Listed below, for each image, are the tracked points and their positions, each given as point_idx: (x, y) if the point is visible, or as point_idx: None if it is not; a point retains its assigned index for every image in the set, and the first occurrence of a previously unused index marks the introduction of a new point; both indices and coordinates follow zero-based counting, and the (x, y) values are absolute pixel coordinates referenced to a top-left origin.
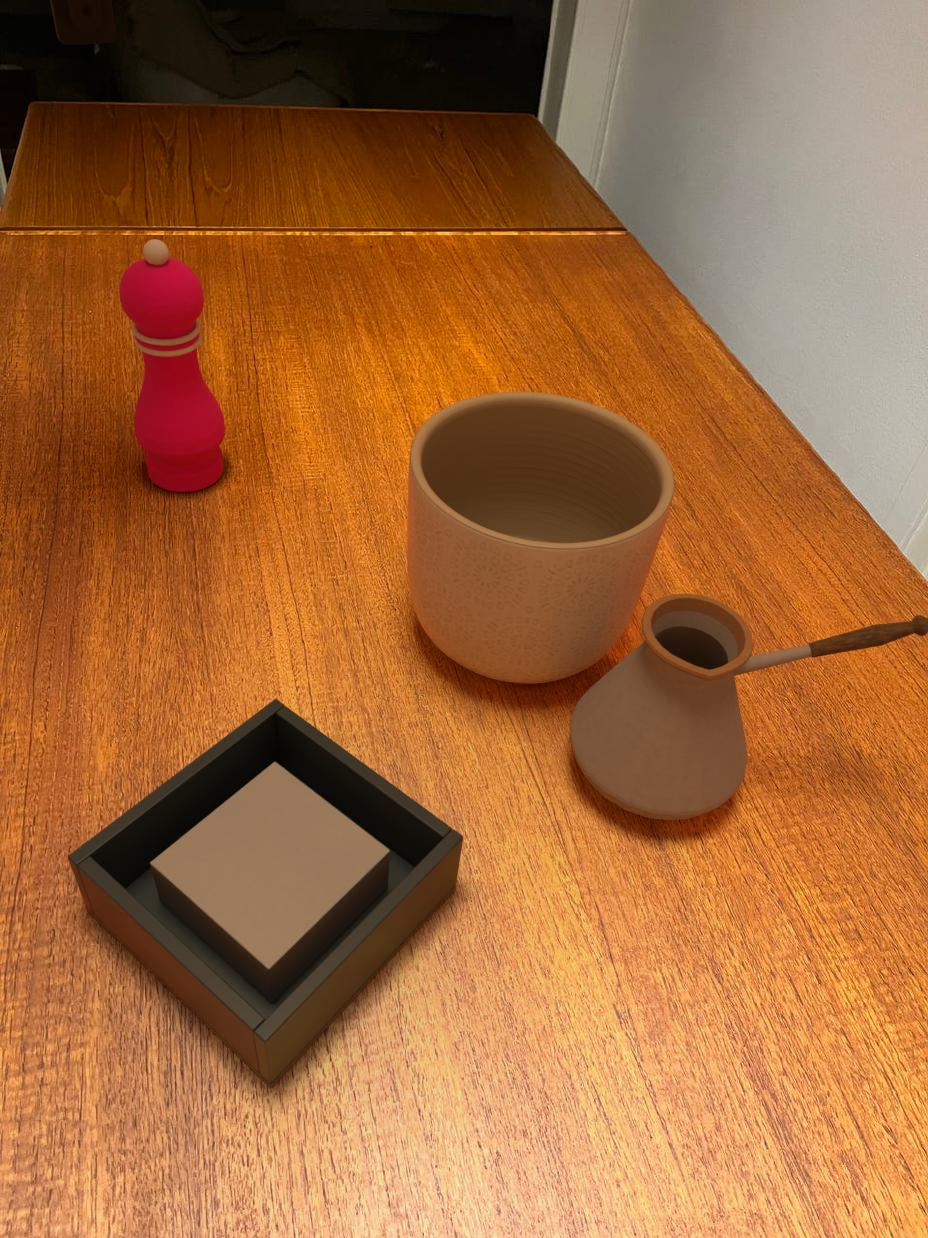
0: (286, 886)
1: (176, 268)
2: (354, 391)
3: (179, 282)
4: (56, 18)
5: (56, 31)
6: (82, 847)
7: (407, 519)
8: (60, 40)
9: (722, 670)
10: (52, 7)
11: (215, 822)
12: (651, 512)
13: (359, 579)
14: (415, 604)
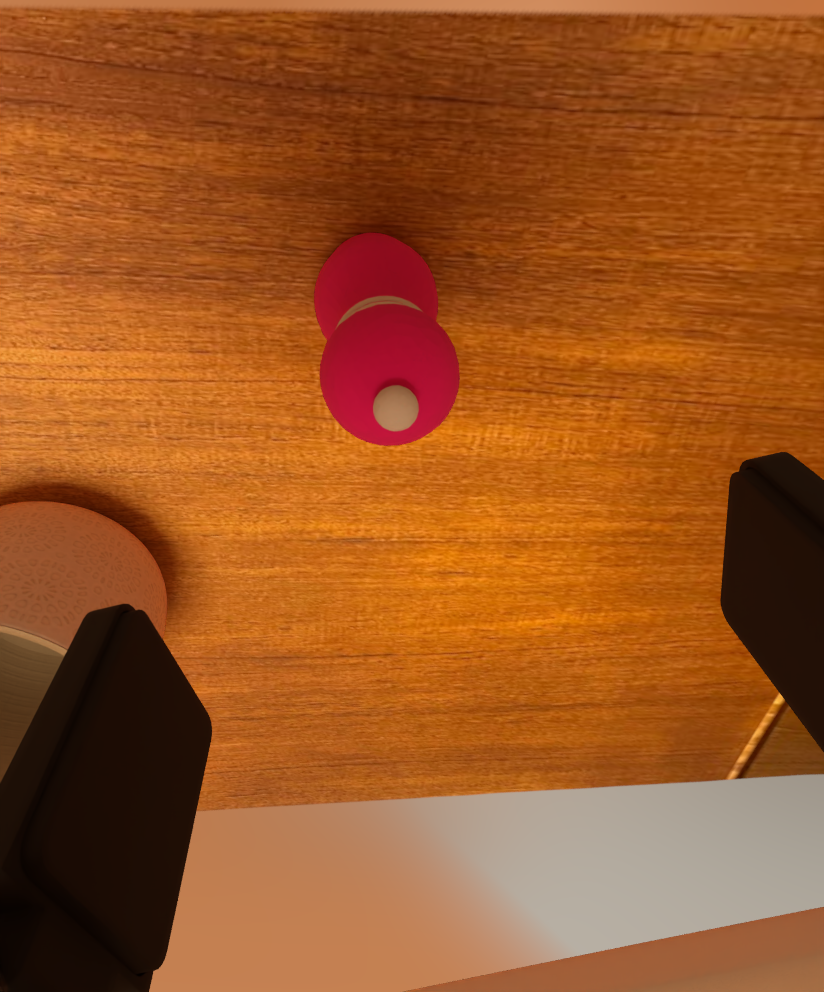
0: None
1: (376, 427)
2: (503, 497)
3: (348, 423)
4: (59, 670)
5: (101, 623)
6: None
7: (10, 560)
8: (91, 613)
9: None
10: (62, 692)
11: None
12: (6, 755)
13: (148, 448)
14: (2, 513)
